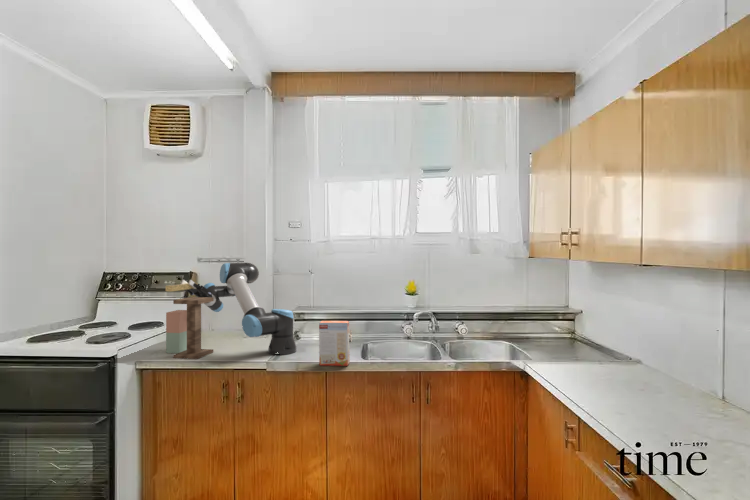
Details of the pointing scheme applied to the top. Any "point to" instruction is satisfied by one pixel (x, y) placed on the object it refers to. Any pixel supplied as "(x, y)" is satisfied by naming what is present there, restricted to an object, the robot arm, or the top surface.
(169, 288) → the brass bar
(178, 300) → the wooden stand
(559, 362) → the top surface
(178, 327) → the top block
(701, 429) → the top surface
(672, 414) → the top surface
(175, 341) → the bottom block
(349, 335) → the architectural model
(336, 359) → the cracker box
